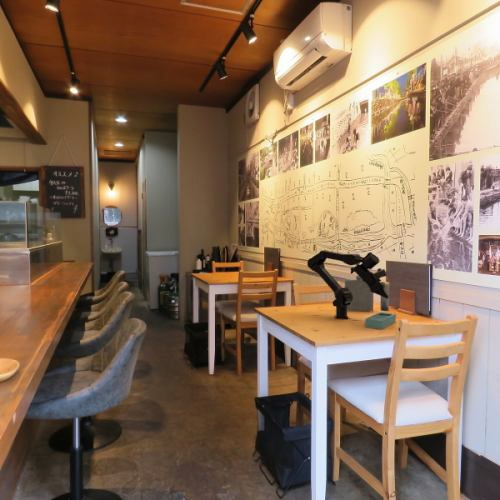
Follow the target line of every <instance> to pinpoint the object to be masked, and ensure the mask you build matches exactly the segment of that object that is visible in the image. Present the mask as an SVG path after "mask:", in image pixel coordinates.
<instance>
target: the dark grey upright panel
mask: <svg viewBox="0 0 500 500" xmlns="http://www.w3.org/2000/svg"><path fill="white" fill-rule="evenodd" d="M355 278H356V279H345V280H344V287H347V288H348V289H349V291H350V292H352V293H351V294H352V295H353V300H352V302H351V303H350V305H348V306H347V312H351V311H352V312H367V311H373V312H374V294H375V293H372V292H371V291H370V288H369V287H368V285H367V284H366V283H365V282H364V281H363V280H362V279H361V278H360V277H359V276H358V275H356V276H355Z"/></svg>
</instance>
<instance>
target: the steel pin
mask: <svg viewBox="0 0 500 500" xmlns="http://www.w3.org/2000/svg"><path fill="white" fill-rule="evenodd" d="M380 282H381V283H382V284H383V290H384V291H385V292H386V294H387V295H388V297H389V298H384V297H382V296H380V304H379V305H380V307H379V308H380V309H379V310H380V312H389V311H390V282H389V281H380Z"/></svg>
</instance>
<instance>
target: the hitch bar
mask: <svg viewBox="0 0 500 500" xmlns="http://www.w3.org/2000/svg"><path fill="white" fill-rule="evenodd" d="M364 319H365V320H364V321H365V322H364V323H365V325H364V326H365V328H369V329H375V330H377V329H378V330H384V329H386V328H387V327H389V326H391V325H392V324H395V323H396V322H397V314H396V313H392V312H386V311H379V312H376V313H375V314H372V315H370V316H368V317H366V318H364Z"/></svg>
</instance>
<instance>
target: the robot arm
mask: <svg viewBox="0 0 500 500" xmlns="http://www.w3.org/2000/svg"><path fill="white" fill-rule="evenodd" d="M327 259H329V260H334V261H339V262H343V263H344V264H346V265H348V266H352V267H350V274H354V273H355V274H356V276H359V277H360V278H361V279H362V280H363V281H364V282H365V283H366V284H367V285H368V287H369V288H370V291H371V292H372V293H374V294H376V295H378V296H380V297H381V296H382V297H384V298H389V299H390V296H389V297H388V295H387V294H386V292H385V291H384V290H383V284H382V283H381V282H382V279H381V278H383V277H387V276H388V274H387V272H386V270H385V268H377V271H376V272H373V271H370V270H372V269H374V268H375V267H376V266H377V265H378V264H380V262H381V261H380V258H379V256H377V255H376V254H374V253H373V252H372V251H369V252H368V253H367V254H366V255H365V256H364V257H363V256H361V254H359V253H342V252H335V251H331V250H321V251H319V252H318V253H317V254H314V256H312V257H310V258H308V259H307V265H306V266H307V267H308V268H309V269H310V270H311V271H312V272H314V273H316V274H318V275H319V276H320V278H321V279H322V280H323V281H324V282H325V283H326V285H327V287H329V289H331V291H332V292H333V294H334V298H335V299H334V300H333V301H332V306H333V307H336V308H335V314H334V317H335V319H349V316H348V311H347V306H348V305H350V303H351V302H352V300H353V295H352V294H351V293H352V292H350V291H349V289H348V288H347V287H345V286H344V287H342V286H341V285H340V284H339V282H338V281H337V280H336V279H335V278H334V277H333V276H332V274H331V273H330V272H329V271H328V270H327V269H326V266H325V262H326V260H327Z"/></svg>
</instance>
